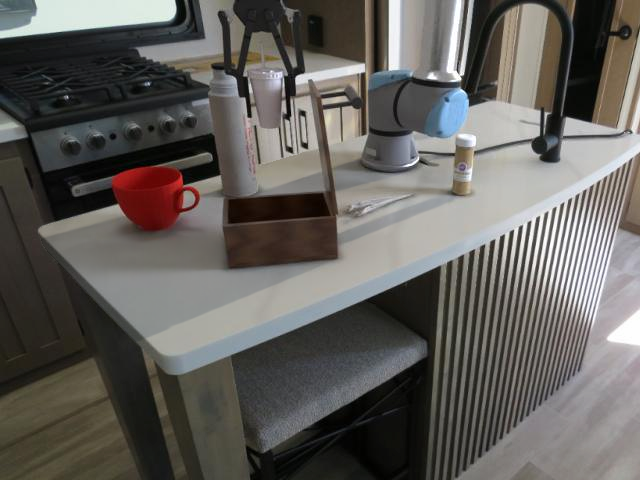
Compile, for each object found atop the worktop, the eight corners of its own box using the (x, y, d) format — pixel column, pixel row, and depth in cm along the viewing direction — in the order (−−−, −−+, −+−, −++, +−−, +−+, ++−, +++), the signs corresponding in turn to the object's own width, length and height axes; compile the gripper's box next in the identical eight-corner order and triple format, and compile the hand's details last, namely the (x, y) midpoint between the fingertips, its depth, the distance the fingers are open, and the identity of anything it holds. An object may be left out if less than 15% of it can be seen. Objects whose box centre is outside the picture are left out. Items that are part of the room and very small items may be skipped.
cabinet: (229, 268, 101) (222, 226, 97) (229, 237, 112) (223, 197, 107) (338, 258, 106) (336, 217, 101) (328, 229, 116) (327, 190, 111)
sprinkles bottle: (452, 195, 133) (457, 138, 125) (450, 188, 136) (454, 132, 129) (471, 195, 133) (477, 139, 125) (469, 188, 137) (474, 133, 129)
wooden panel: (316, 96, 89) (364, 90, 90) (307, 79, 99) (351, 73, 101) (334, 215, 101) (376, 208, 102) (325, 188, 111) (363, 182, 112)
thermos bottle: (263, 186, 134) (249, 61, 119) (249, 198, 128) (232, 68, 113) (232, 183, 136) (214, 58, 120) (217, 195, 129) (196, 65, 114)
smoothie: (275, 119, 107) (269, 38, 99) (295, 126, 103) (290, 43, 96) (245, 124, 103) (236, 41, 96) (265, 133, 99) (257, 47, 92)
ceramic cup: (189, 243, 109) (179, 195, 104) (109, 234, 111) (96, 186, 106) (218, 216, 120) (211, 171, 114) (145, 208, 122) (134, 163, 117)
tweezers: (359, 218, 121) (359, 209, 120) (345, 211, 124) (345, 203, 123) (417, 203, 131) (418, 195, 130) (404, 197, 134) (404, 189, 133)
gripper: (313, -32, 95) (320, 108, 107) (193, -35, 91) (215, 111, 103) (318, -30, 89) (325, 119, 101) (190, -33, 85) (213, 122, 97)
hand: (269, 115), depth 102 cm, fingers closed on smoothie, 6 cm apart
